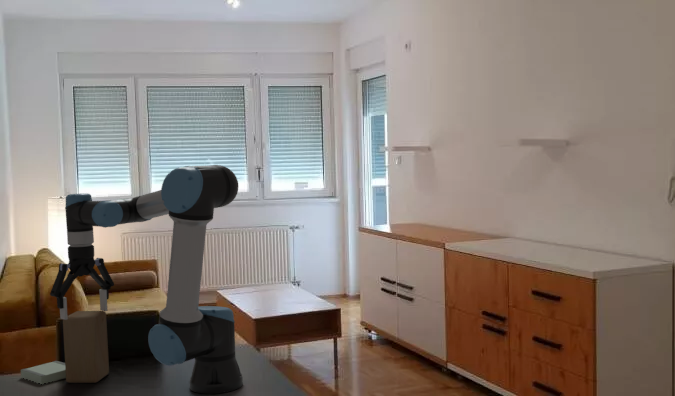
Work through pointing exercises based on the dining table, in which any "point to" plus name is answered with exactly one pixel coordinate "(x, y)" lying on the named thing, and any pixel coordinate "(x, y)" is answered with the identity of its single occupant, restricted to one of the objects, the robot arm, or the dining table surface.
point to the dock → (45, 372)
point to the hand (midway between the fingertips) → (84, 314)
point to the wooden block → (86, 346)
